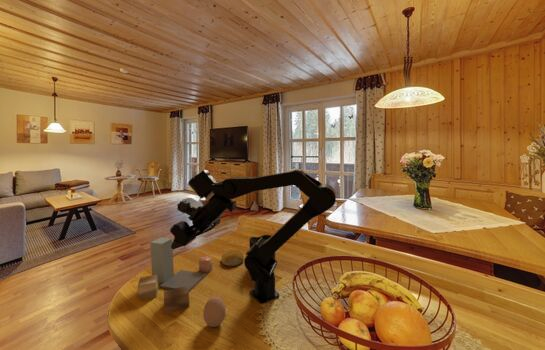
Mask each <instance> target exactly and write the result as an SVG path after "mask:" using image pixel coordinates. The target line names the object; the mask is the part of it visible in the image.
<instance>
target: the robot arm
mask: <svg viewBox="0 0 545 350" xmlns="http://www.w3.org/2000/svg"><path fill="white" fill-rule="evenodd" d="M187 183H188V186H189V187H190V188H191V189H192V191H194V193H195V194H196V195H197V196H198V197H199V198H200V199H204V198H205V200H207V199H208V200H207V201H206V202H205V203H204V204H202V203H201V202H199V201H198V200H196V199H194V198H193V197H186V198H183V199H181V200H180V201H179V203H177V205H176V206H177V210H178V211H179V212H181V213H182V214H186V215H187V216H188V218H187V219H188V220H189V221H190V222H191V223H192V225H190V224H188V222H187V221H184V220H181V221H178V222H177V223H175V224H173V225H172V226H171V227H170V229H169V232H170V233H171V234H172V236H173V239H172V245H171V248H172V249H173V251H174V250H176V249H179V248H182V247H186V246H188V245H189V244H191V243H192V242H193V241H194V240H195V239H196V238H197V237H198V236H200V235H201V236H202V235H203V234H205V233H207V232H210V231H212V230H213V229H215V228H216V227H218V226H219V224H220V223H221V216H222V215H223V214H224V213H225V212H226V211H227V210H228V211H229V212H230V213H232V212H233V211H236V210H237V209H238V208H237V200H234V199H236V198H240V197H242V196H245V195H248V194H251V193H253V192H257V191H264V190H265V191H266V190H271V189H278V188H284V187H289V186H290V187H291V186H295V187H297V189H299V190H300V191H301V192H302V193H303V194H304V195H305V196H306V197H308V199H307V200H306V201H305V202H304V204H303V206H302V207H300V208H299V209H298V210H297V211H296V212H295V213H294V214H293V215H292V216H291V217H290V218H289V219H288V220H287V221H286V222H285V223H284V224H282V225H281V227H279V228H278V229H277V230H276V231H275V232H274V233H273V234H271V237H270V238H269V239H267V240H265V241H264V239H263V238H262V237H261V238H260V239H259V241H258V242H257V243H256V244H253V246H252V247H251V248H250V247H249V249H248V250H247V252H246V253H245V255H246V256H245V258H244V260H243V263H244V267H245V269H246V270H247V272H248V274H249V277H250V279H251V281H252V282H253V289H252V290H249V295H251V297H253V298H254V299H255V300H256V301H257V302H258V303H259V304H260V305H263V304H264V303H266V302H268V301H271V299H272V300H273V299H276V298H278V297H280V296H279V295H280V292H278V291H277V290H276V277H275V272H274V271H275V269H276V268H277V265H278V261H277V260H276V258H275V259H274V258H273V257H272V256H273V255H274V253H275V254H276V252H277V251H278V250H279V249H280V248H282V247H283V245H284V244H286V243H287V242H288V241H289V240H290V239H291V238H292V237H294V235H295V234H297V233H298V232H299V231H300V230H301V229H302V228H303V227H304V226H306V224H307V223H309V222H310V220H312V219H314V218H316V217H318V216H321V215H322V214H323V213H325V212H327V211H328V210H330V209H332V208H333V207H334V206H335V204H336V200H337V199H336V198H337V196H336V195H337V194H336V191H335V188H334V187H333V186H332V185H330V184H328V183H322V182H321V181H319V180H317V179H315V178H314V177H312V176H310V175H309V174H307V172H305V171H304V170H303V169H300V168H296V169H294V170H290V171H285V172H278V173H273V174H272V173H271V174H267V175H261V176H233V177H230V178H226V179H224V180H221V181H217V180H216V179H215V178H214V176H212V175H211V173H210V172H209V170H207V169H203V170H201V172H199V173H197V174H196V175H194V176H193V177H192V178H190V180H189V181H188V182H187ZM277 296H278V297H277ZM275 297H276V298H275Z"/></svg>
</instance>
